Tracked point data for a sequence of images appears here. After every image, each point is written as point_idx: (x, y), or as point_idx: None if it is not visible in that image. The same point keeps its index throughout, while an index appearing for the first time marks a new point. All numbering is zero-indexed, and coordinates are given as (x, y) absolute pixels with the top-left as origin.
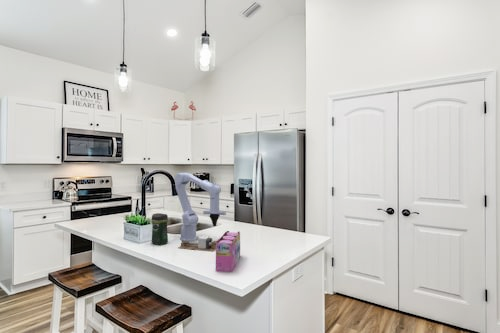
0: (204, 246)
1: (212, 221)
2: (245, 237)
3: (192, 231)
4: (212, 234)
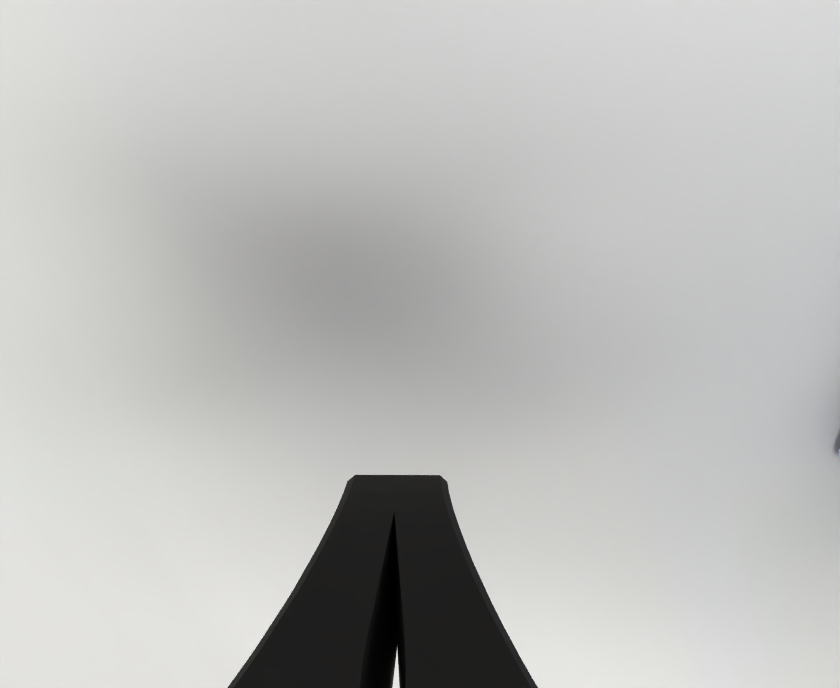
0: None
1: (467, 639)
2: (23, 643)
3: None
4: (618, 667)
